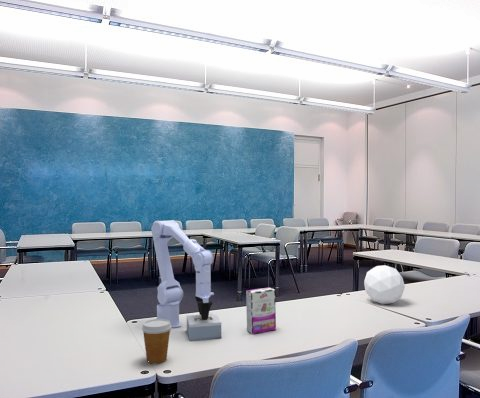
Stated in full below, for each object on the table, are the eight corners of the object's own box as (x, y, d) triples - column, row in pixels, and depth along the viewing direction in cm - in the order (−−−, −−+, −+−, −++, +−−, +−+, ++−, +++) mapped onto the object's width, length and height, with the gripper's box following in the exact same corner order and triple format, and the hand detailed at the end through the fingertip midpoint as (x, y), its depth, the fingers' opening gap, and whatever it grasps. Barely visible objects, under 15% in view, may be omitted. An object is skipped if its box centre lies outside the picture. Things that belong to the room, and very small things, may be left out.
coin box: (189, 340, 142) (189, 324, 142) (186, 330, 154) (186, 315, 154) (221, 338, 145) (221, 322, 145) (216, 328, 157) (216, 313, 157)
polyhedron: (391, 314, 198) (415, 284, 198) (383, 309, 183) (409, 275, 182) (361, 291, 210) (384, 262, 210) (351, 284, 194) (375, 253, 194)
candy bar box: (269, 326, 158) (269, 286, 159) (276, 330, 154) (276, 289, 154) (245, 331, 153) (245, 289, 153) (251, 334, 149) (251, 292, 149)
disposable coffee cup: (144, 354, 129) (144, 319, 129) (172, 353, 130) (172, 318, 130) (139, 366, 120) (139, 327, 120) (170, 365, 121) (170, 326, 121)
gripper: (216, 285, 144) (216, 321, 143) (210, 278, 158) (210, 311, 157) (197, 286, 142) (197, 323, 142) (193, 279, 156) (193, 312, 156)
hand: (203, 317), depth 150 cm, fingers open, 7 cm apart
